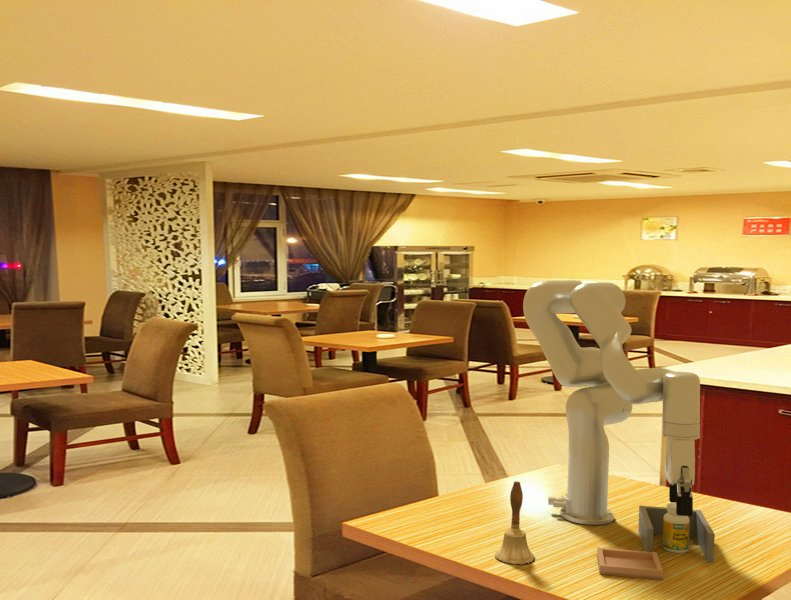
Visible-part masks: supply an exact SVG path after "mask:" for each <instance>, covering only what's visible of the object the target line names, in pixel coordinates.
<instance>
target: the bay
mask: <svg viewBox="0 0 791 600" xmlns="http://www.w3.org/2000/svg"><path fill="white" fill-rule="evenodd" d="M666 513H668V512H667V507H663V506H652V505H651V506H647V505H638V529H637V530H638V535H639V537H640V541H641V543H642V547H643V551H646V552H654V551H653V550H654V549H653V548H654V546H653V545H654V535H658V536H659V535H662V536H663V517H664V515H665V514H666ZM704 515H705V514H703V512H702V510H700V509H693V515H692V516H688V518H689V538H695V540H696V542H697V545H698V546H699V548H700V550H701V552H702V554H703V557H704V558H705V560H706V562H707V563H714V561H715V560H714V559H715V558H714V557H715V539H716V538H715V536H716V535H715V532H714V531H713V528H712V527H711V525H710V523H709V522H708V520H707V518H706V517H705V516H704Z"/></svg>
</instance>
